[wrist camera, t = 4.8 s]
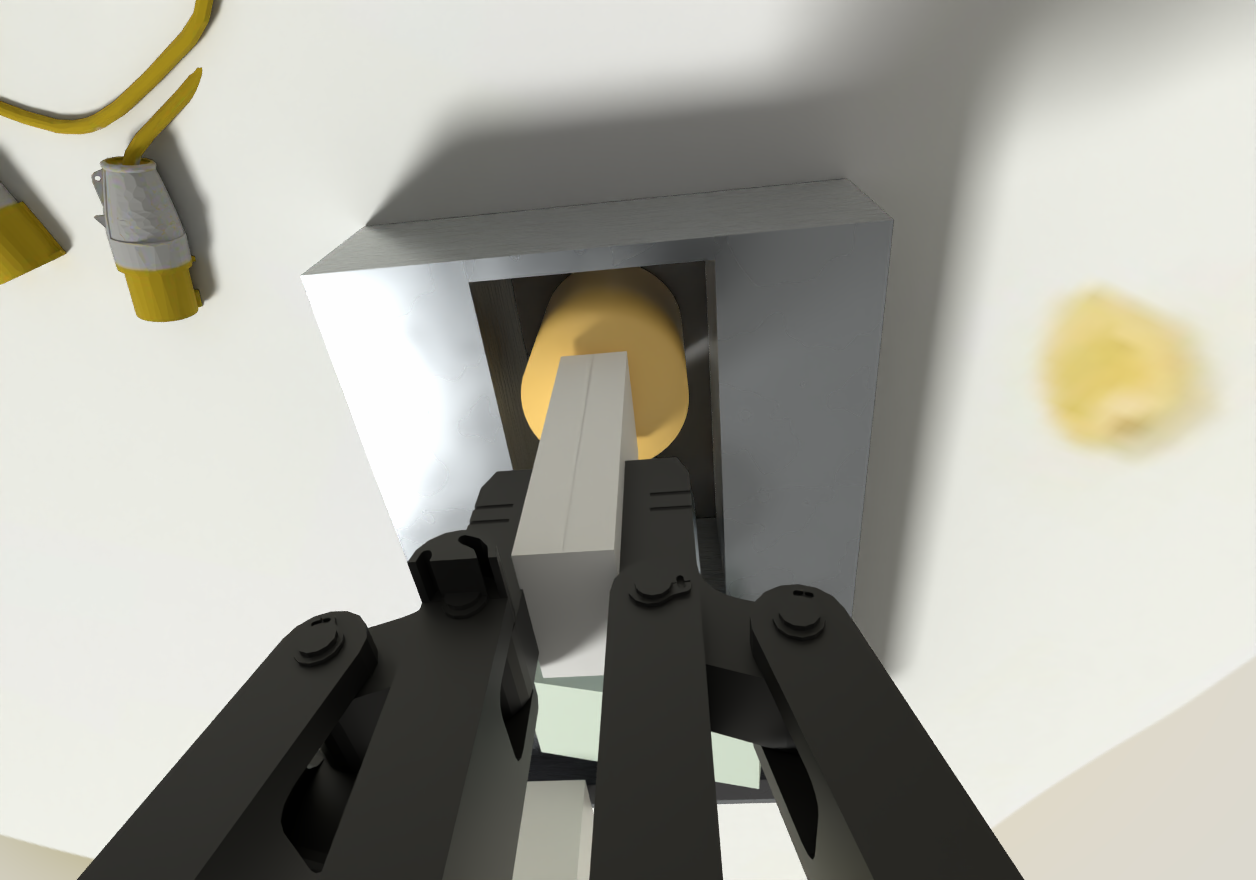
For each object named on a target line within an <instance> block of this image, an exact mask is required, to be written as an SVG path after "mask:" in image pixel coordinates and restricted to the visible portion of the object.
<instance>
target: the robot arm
mask: <svg viewBox="0 0 1256 880" xmlns="http://www.w3.org/2000/svg"><path fill="white" fill-rule="evenodd" d="M474 507H475V510H473V512H472V515H471V518H470V521H469V522H470V524H469V525H468V526H467V529H466V530H458V531H453V532H447V533H444V534H442V535H439V536H437V537H435V538H433V539H430V540H428V541H427V542H426V543H424V544H423V545H422V546H421V547H419V548H418V549H417V550H415V552H414V553H413V555H412V556H411V558H410V559H409V560H408V562H407V563H408V566H409V569H410V571H411V574H412V577H413V579H414V582H415V585H416V587H417V590H418V593H419V595H420V598H421V601H422V605H421V608H420V610H418V611H417V612H415V613H413V614H410V615H408V616H405V617H403V618H400V619H396V620H393V621H390V622H387V623H383V624H380V625H377V626H373V627H370V628H368V627H367V625H366V624H365V622H364V621H363V620H362V618H361V617H360V616H359V615H356V614H353V613H351V612H348V611H336V612H328V613H325V614H322V615H318V616H315V617H313V618H311V619H309V620H307V621H305V622H304V623H302V624H300V625H298V626H297V627H296V628H294V629H293V630H292V631H291V632H290V633H289V634H288V635H287V636H286V637H284V638H283V639H282V641H281V642H280V643H279V644H278V645H277V646H276V648H275V649H274V650H273V651H272V652H271V653H270V655H269V656H268V657H267V658H266V659H265V660H264V662H263V663H262V664H261V665H260V666H259V667H258V669H257V670H256V671H255V672H254V673H253V674H252V676H251V677H250V678H249V679H248V680H247V681H246V683H245V684H244V685H243V686H242V687H241V688H240V690H239V691H238V692H237V693H236V694H235V695H234V697H233V698H232V699H231V700H230V701H229V702H228V704H227V705H226V706H225V707H224V708H223V709H222V711H221V712H220V713H219V714H218V715H217V716H216V718H215V719H214V720H213V721H212V722H211V724H210V725H209V726H208V727H207V728H206V729H205V731H204V732H203V733H202V734H201V735H200V736H199V738H198V739H197V740H196V741H195V742H194V743H193V745H192V746H191V747H190V748H189V749H188V750H187V752H186V753H185V754H184V755H183V756H182V757H181V759H180V760H179V761H178V762H177V763H176V764H175V766H174V767H173V768H172V769H171V770H170V771H169V773H168V774H167V775H166V776H165V777H164V778H163V780H162V781H161V782H160V783H159V784H158V785H157V787H156V788H155V789H154V790H153V791H152V792H151V794H150V795H149V796H148V797H147V798H146V799H145V801H144V802H143V803H142V804H141V805H140V806H139V808H138V809H137V810H136V811H135V812H134V813H133V815H132V816H131V817H130V818H129V819H128V821H127V822H126V823H125V824H124V825H123V826H122V828H121V829H120V830H119V831H118V832H117V833H116V835H115V836H114V837H113V838H112V839H111V840H110V842H109V843H108V844H107V845H106V846H105V847H104V849H103V850H102V851H101V852H100V853H99V854H98V856H97V857H96V858H95V859H94V860H93V861H92V863H91V864H90V865H89V866H88V867H87V868H86V870H85V871H84V872H83V873H82V874H81V875H80V877H79V878H78V879H77V880H512V878H513V871H514V865H515V858H516V852H517V845H518V839H519V832H520V826H521V819H522V813H523V806H524V800H525V793H526V787H527V780H528V774H529V767H530V761H531V754H532V748H533V741H534V735H535V728H536V722H537V715H538V709H539V706H538V695H537V691H536V687H535V684H534V680H535V674H536V668H537V662H538V660H539V664H540V668H541V672H542V675H543V678H554V677H576V676H598V675H604V679H603V693H602V707H601V721H600V735H599V749H598V763H597V777H596V791H595V805H594V819H593V833H592V847H591V861H590V875H589V880H723V874H722V861H721V849H720V837H719V824H718V812H717V800H716V787H715V775H714V763H713V750H712V738H711V732H714V733H718V734H721V735H725V736H728V737H732V738H736V739H739V740H743V741H746V742H750V743H753V747H754V749H755V752H756V754H757V757H758V759H759V761H760V764H761V766H762V769H763V771H764V774H765V776H766V779H767V781H768V783H769V786H770V788H771V791H772V793H773V796H774V798H775V801H776V803H777V806H778V808H779V810H780V813H781V815H782V818H783V820H784V823H785V825H786V828H787V830H788V833H789V835H790V837H791V840H792V842H793V845H794V847H795V850H796V852H797V855H798V857H799V859H800V862H801V864H802V867H803V869H804V872H805V874H806V877H807V879H808V880H1024V879H1023V877H1022V876H1021V874H1020V873H1019V871H1018V869H1017V868H1016V866H1015V865H1014V863H1013V862H1012V860H1011V859H1010V857H1009V856H1008V854H1007V853H1006V852H1005V850H1004V848H1003V847H1002V845H1001V844H1000V842H999V841H998V839H997V838H996V836H995V835H994V833H993V832H992V830H991V829H990V827H989V826H988V824H987V823H986V821H985V820H984V818H983V817H982V815H981V814H980V812H979V811H978V809H977V808H976V806H975V804H974V803H973V801H972V800H971V798H970V797H969V795H968V794H967V792H966V791H965V789H964V788H963V786H962V785H961V783H960V782H959V780H958V779H957V777H956V776H955V774H954V773H953V771H952V770H951V768H950V767H949V765H948V764H947V762H946V761H945V759H944V758H943V756H942V755H941V753H940V752H939V750H938V749H937V747H936V746H935V744H934V743H933V741H932V739H931V738H930V736H929V735H928V733H927V732H926V730H925V729H924V727H923V726H922V724H921V723H920V721H919V720H918V718H917V717H916V715H915V714H914V712H913V711H912V709H911V708H910V706H909V705H908V703H907V702H906V700H905V699H904V697H903V696H902V694H901V693H900V691H899V690H898V688H897V687H896V685H895V684H894V682H893V681H892V679H891V678H890V676H889V675H888V673H887V671H886V670H885V668H884V667H883V665H882V664H881V662H880V661H879V659H878V658H877V656H876V655H875V653H874V652H873V650H872V649H871V647H870V646H869V644H868V643H867V641H866V640H865V638H864V637H863V635H862V634H861V632H860V631H859V629H858V628H857V626H856V625H855V623H854V622H853V620H852V619H851V617H850V616H849V614H848V613H847V611H846V610H845V608H844V607H843V606H842V605H841V604H840V603H839V602H838V601H837V600H836V599H835V598H834V597H833V596H832V595H830V594H828V593H826V592H824V591H822V590H820V589H818V588H816V587H811V586H806V585H800V584H792V585H780V586H778V587H775V588H773V589H770V590H768V591H766V592H764V593H763V594H762V595H761V596H760V597H759V598H758V599H757V600H756V601H755V602H754V601H749V600H744V599H740V598H736V597H732V596H729V595H726V594H723V593H722V592H720V591H718V590H716V589H714V588H713V587H712V586H710V585H709V584H708V583H707V582H706V581H705V580H704V579H703V577H702V576H701V574H700V573H699V570H698V566H697V561H696V549H695V537H694V525H693V513H692V501H691V489H690V478H689V471H688V470H687V469H686V468H685V467H684V465H683V464H682V463H681V462H680V460H679V459H678V458H677V457H671V458H657V459H642V460H638V445H637V436H636V427H635V419H634V410H633V401H632V392H631V384H630V375H629V366H628V357H627V351H622V352H610V353H598V354H586V355H574V356H562V357H561V358H560V362H559V366H558V370H557V374H556V378H555V382H554V386H553V390H552V394H551V398H550V402H549V406H548V410H547V414H546V418H545V422H544V426H543V430H542V434H541V438H540V442H539V446H538V450H537V454H536V458H535V462H534V466H533V469H525V470H510V471H497V472H496V473H495V474H494V475H493V476H492V477H491V478H490V479H489V480H488V481H487V482H486V483H485V484H484V485H483V486H482V487H481V489H480V492H479V495H478V498H477V500H476V503H475V506H474Z"/></svg>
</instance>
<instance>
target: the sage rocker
mask: <svg viewBox="0 0 1256 880" xmlns="http://www.w3.org/2000/svg"><path fill="white" fill-rule="evenodd" d="M603 679H604V675H598V676H576V677H554V678H543V675H542V672H541V668H540V664H539V660H538V662H537V668H536V674H535V680H534V684H535V687H536V691H537V695H538V706H539V709H538V715H537V722H536V728H535V731H536V735H537V738H538V742H539V745H540V749H541V752H545V753H551V754H557V755H563V756H568V757H574V758H580V759H586V760H592V761H598V749H599V735H600V721H601V707H602V693H603ZM711 738H712V750H713V763H714V775H715V782H721V783H727V784H732V785H738V786H744V787H750V788H756V789H759V784H760V772H761V764H760V761H759V759H758V757H757V754H756V752H755V749H754V747H753V743H750V742H746V741H743V740H739V739H736V738H732V737H728V736H725V735H721V734H718V733H714V732H711Z"/></svg>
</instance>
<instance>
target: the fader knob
mask: <svg viewBox="0 0 1256 880" xmlns="http://www.w3.org/2000/svg"><path fill="white" fill-rule="evenodd" d="M593 819H594V814H593V810H592V806H591V802H590V798H589V793H588V789H587V785H586V781H585V780H562V781H530V782H527V787H526V793H525V800H524V806H523V813H522V819H521V826H520V832H519V839H518V845H517V852H516V858H515V865H514V871H513V878H512V880H589V875H590V861H591V847H592V833H593Z"/></svg>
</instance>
